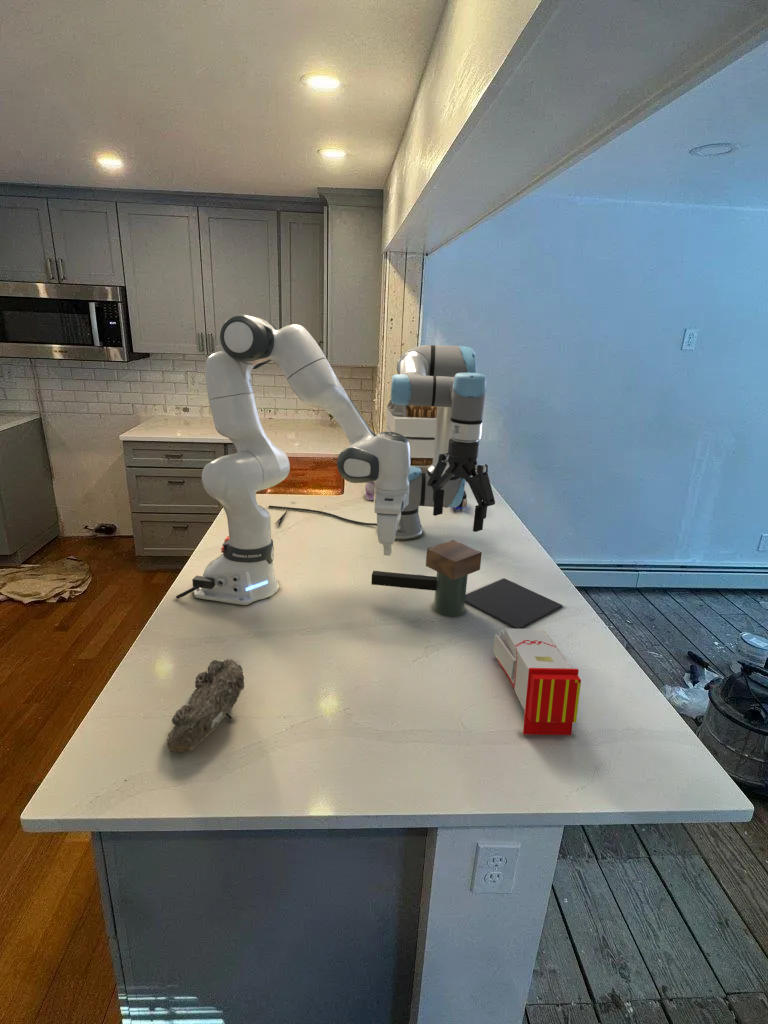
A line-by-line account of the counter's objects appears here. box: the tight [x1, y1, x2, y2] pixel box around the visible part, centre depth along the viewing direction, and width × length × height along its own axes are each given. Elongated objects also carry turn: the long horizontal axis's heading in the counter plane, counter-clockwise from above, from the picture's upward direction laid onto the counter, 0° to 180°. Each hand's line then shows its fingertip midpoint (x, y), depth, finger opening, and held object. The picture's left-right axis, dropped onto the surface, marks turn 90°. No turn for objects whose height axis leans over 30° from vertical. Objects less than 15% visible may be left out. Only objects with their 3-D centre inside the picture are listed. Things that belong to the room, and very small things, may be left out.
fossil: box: [166, 658, 245, 754], centre depth 106 cm, size 22×10×15 cm
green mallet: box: [371, 570, 469, 617], centre depth 150 cm, size 25×8×12 cm, turn 83°
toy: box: [492, 627, 582, 736], centre depth 118 cm, size 12×13×30 cm
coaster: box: [465, 578, 563, 629], centre depth 156 cm, size 20×20×1 cm
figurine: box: [364, 482, 374, 501], centre depth 234 cm, size 9×10×15 cm
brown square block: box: [425, 539, 483, 580], centre depth 146 cm, size 10×10×5 cm
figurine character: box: [452, 490, 468, 512], centre depth 228 cm, size 7×8×15 cm
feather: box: [274, 510, 288, 528], centre depth 213 cm, size 2×28×2 cm
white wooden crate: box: [385, 399, 437, 467], centre depth 268 cm, size 34×33×41 cm
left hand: (389, 547), depth 148 cm, fingers open, 8 cm apart
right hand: (457, 522), depth 143 cm, fingers open, 13 cm apart
